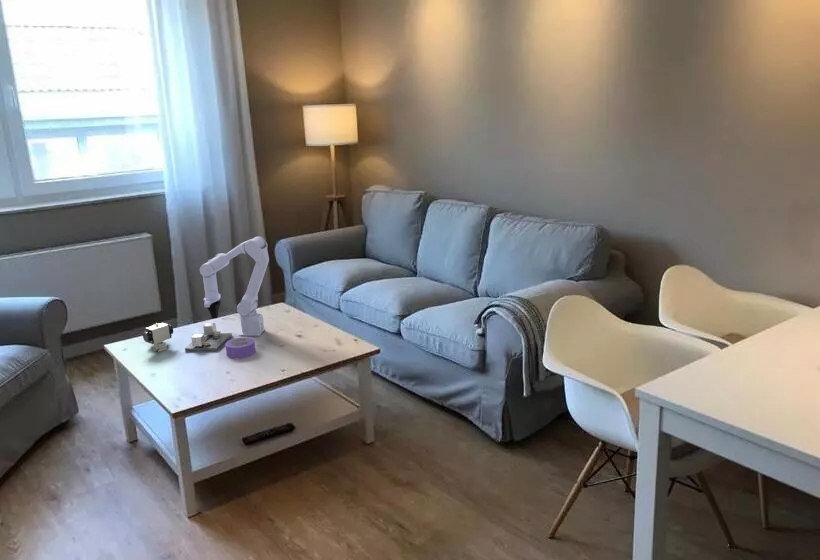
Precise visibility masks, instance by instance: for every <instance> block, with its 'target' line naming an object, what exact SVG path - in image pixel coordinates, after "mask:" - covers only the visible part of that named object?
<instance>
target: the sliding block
mask: <svg viewBox="0 0 820 560" xmlns="http://www.w3.org/2000/svg"><path fill="white" fill-rule="evenodd" d="M203 333H204V335H213V334H215V333H219V334H220V333H221V331H217V324H216V322H207V323H205V324H204V325H203Z"/></svg>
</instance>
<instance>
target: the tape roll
mask: <svg viewBox="0 0 820 560" xmlns="http://www.w3.org/2000/svg"><path fill="white" fill-rule="evenodd" d="M224 346H225V354H226V357H227V356H228V357H227V358H230V359H234V358H239V359H244V358H245V359H246V358H248V357H251V356H253V355H255V354H256V344H255V339H254V338H252V337H246V336H244V337H237V338H233V339H232V338H231V339H229V340H228V341H227V342H226V343H225V344H224Z"/></svg>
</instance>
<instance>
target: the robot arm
mask: <svg viewBox="0 0 820 560" xmlns="http://www.w3.org/2000/svg"><path fill="white" fill-rule="evenodd" d="M240 254H248V256H250V258H252V259H253V260H254V262H255V265H254V267H253V270H252V273H251V276H250V278H249V282H248V285H247V287H246V291H245V293H244V295H243V296H242V299H241V300H240V302H239V303H238V304H237V306H236V311H237V312H236V313H238V315H239V317H240V319H239V320H240V326H241V332H240V333H239V334H238V336H240V337H243V336H244V337H247V336H251V337H252V336H255V337H256V336H260V335H262V334H263V333H264V331H265V330H266V328H265V325H264V318H263V314H262V313H258V312H257V308H258V300H259V296H258V294H259V291H260V288H261V285H262V283H263V280H264V277H265V274H266V270H267V269H268V264H269V262H270V257H269V252H268V243H267V241H266V240H265V238H264V237H263V236H260V235H259V236H254V237H253V238H250V239H248V240H246V241H243V242H241V243H239V244H238V245H237V246H235V247H234V248H232V249H231V250H230V251H228V252H226V253H223V252H222V253H216V254H215V256H214V257H213V258H209V259H208V260H207V262H205V263H203V264H202V265H201V266H200V267H199V273H200V275H201V276H202V280H203V288H204V298H203V299H202V300H203V301H204V303H203V305H204V309H205V308H206V309H207V310H208V311H209V314H210V317H211V319H218V316H219V309H220V305H221V298H222V296H221V293H219V287H218V279H217V272H219V271H220V270H222V269H224V268H225V267H227V266H228V265H229V264H230V260H231V259H232V260H233V258H235V257H237V256H239V255H240Z"/></svg>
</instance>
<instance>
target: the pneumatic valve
mask: <svg viewBox="0 0 820 560" xmlns="http://www.w3.org/2000/svg"><path fill="white" fill-rule="evenodd" d="M159 323H160V322H159ZM155 324H156V323H155ZM153 325H154V324H153ZM173 334H174V328H173V326H172V325H171V324H169V323H167V322H161V323H160V324H156V325H154V326H152V325H150V326H148V327H145V328H144V331H143V333H142V338H143V341H144V342H145V343H148V344H151V345H153V346H152V347H153V351H154V352H158V353H161V352H164V351H166V350H167V349H168V344H167V342H166V340H170V339H172V335H173Z"/></svg>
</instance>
